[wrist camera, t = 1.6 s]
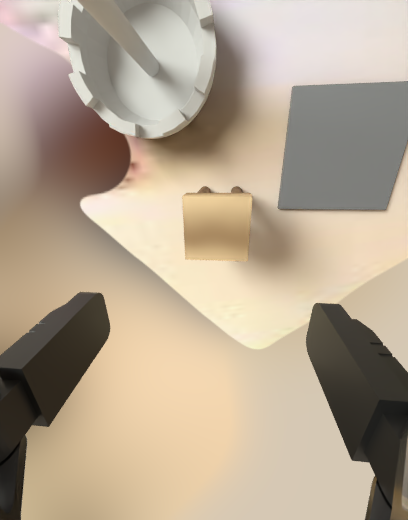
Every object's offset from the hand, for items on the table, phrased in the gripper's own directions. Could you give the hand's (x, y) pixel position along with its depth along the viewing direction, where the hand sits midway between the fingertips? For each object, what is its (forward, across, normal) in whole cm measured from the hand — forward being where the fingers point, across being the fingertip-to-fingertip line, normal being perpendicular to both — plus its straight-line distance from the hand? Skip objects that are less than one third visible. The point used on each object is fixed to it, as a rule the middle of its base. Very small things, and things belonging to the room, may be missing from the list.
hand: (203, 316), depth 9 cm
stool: (+22, 0, 0) cm, 22 cm away
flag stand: (+22, +7, -14) cm, 27 cm away
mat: (+22, -13, -6) cm, 26 cm away
